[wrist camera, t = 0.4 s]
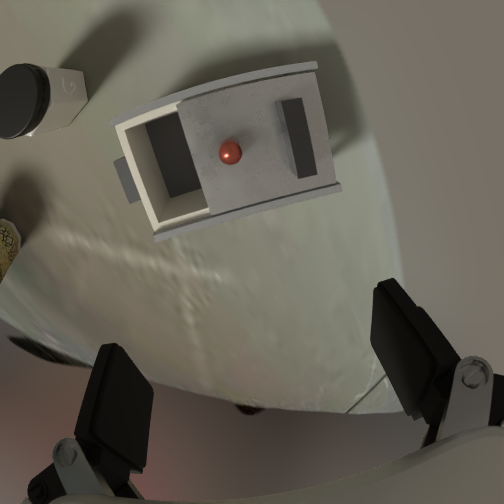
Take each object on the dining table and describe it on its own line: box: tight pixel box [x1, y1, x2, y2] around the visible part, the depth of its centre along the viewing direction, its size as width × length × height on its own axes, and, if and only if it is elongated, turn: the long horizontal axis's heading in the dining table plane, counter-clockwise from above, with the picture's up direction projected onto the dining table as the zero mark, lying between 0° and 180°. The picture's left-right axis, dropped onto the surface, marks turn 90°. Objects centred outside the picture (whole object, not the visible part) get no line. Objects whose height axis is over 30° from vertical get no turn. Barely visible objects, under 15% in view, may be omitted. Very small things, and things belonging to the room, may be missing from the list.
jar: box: [0, 63, 88, 139], centre depth 23 cm, size 9×8×12 cm
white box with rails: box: [109, 61, 342, 242], centre depth 30 cm, size 14×22×10 cm, turn 104°
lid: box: [176, 72, 336, 216], centre depth 25 cm, size 11×13×4 cm
